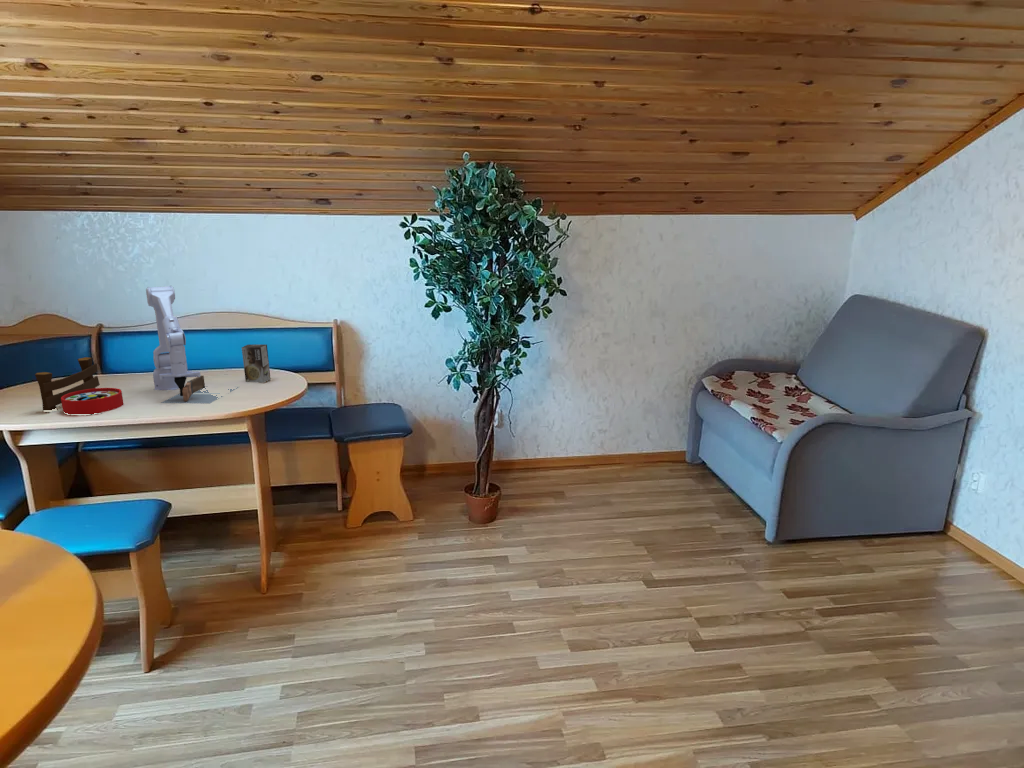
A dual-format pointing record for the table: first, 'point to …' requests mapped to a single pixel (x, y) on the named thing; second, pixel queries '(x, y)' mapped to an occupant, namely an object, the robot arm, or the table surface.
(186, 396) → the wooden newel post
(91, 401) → the toy clock
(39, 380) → the decorative fence
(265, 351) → the coffee box
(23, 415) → the table surface
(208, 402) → the board
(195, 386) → the dark brown wooden bar
